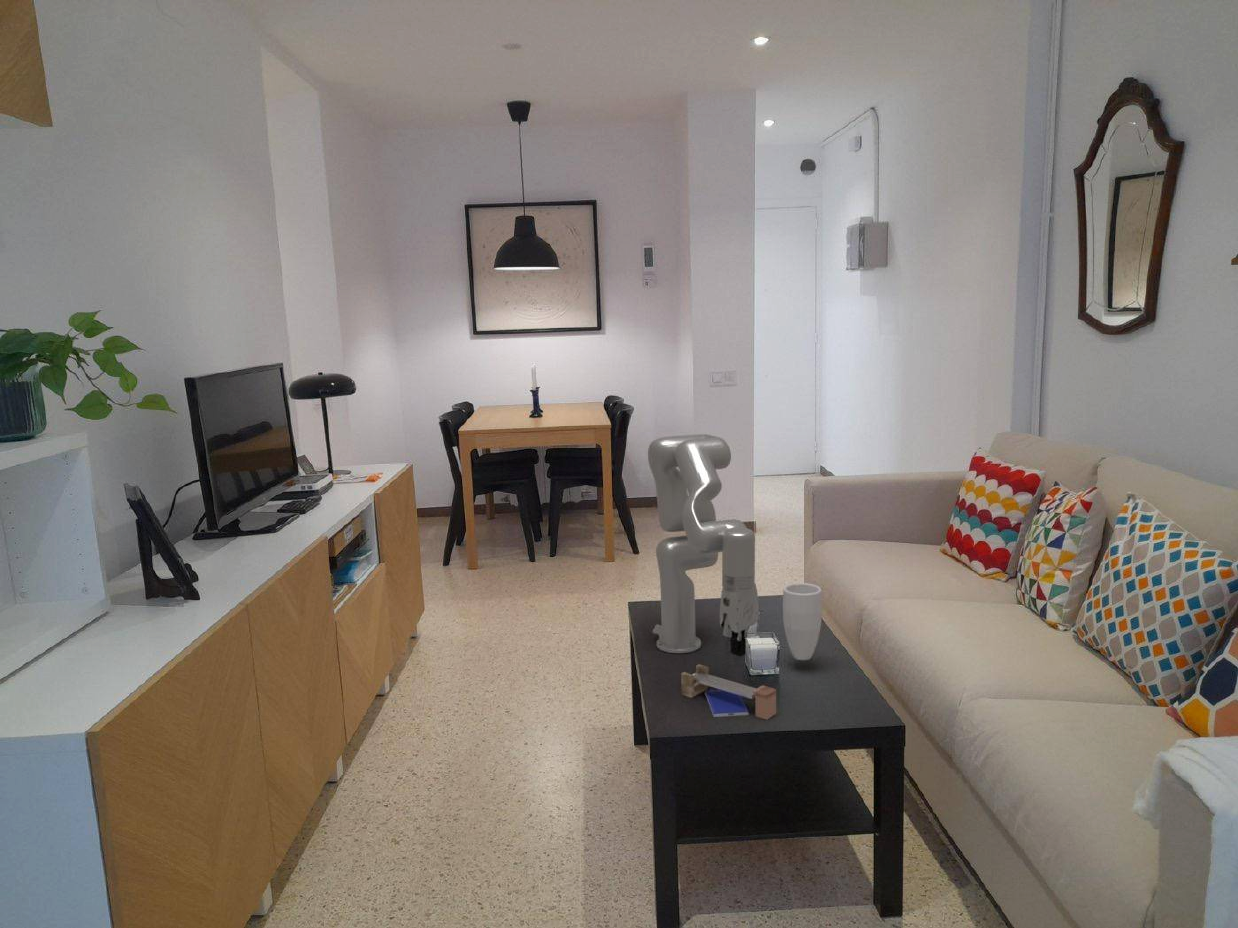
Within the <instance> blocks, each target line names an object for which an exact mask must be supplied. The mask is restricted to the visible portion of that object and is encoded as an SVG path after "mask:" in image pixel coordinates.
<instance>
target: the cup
mask: <svg viewBox="0 0 1238 928" xmlns="http://www.w3.org/2000/svg"><path fill="white" fill-rule="evenodd" d="M782 591H783V592H782V617H783V618H782V619H783V627H784V628H783V629H784V632H785V638H786V642H787V645H788V647H789V650H790V652H791V655H792V657H793V658H794V659H796V660H799V661H808V660H810V659H811V658H812V657H813V655H814V652H815V650H816V647H817V645H818V641H819V637H820V632H821V628H822V612H823V605H822V603H823V602H822V601H823V600H822V599H823V598H822V588H821V587H820V586H818V585H816V584H813V583H808V582H794V583H790V584H785V586H783V588H782Z"/></svg>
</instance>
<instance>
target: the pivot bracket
mask: <svg viewBox="0 0 1238 928" xmlns="http://www.w3.org/2000/svg"><path fill="white" fill-rule="evenodd" d="M709 670H710V668H709V666H706V665H703V664H700V663H699V664H697V665H696V666H695V673H696V672H698V671H701V672H702V673H705V674H709V675H710V671H709ZM692 674H693V673H692ZM692 674H691V673H689V672H686V671H684V672H682V673H680V679H681V681H680V682H681V685H680V686H681V695H682V696H685V697H688V698H691V699H692V698H694V697H695V696H697V695H699V694H701V693H703V692H705V691H706V690H709V688H710V686H707V685H704V684H701V683H698V682H694V675H692Z"/></svg>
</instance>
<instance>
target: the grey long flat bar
mask: <svg viewBox="0 0 1238 928" xmlns="http://www.w3.org/2000/svg"><path fill="white" fill-rule="evenodd" d="M692 675H694V683H696V682H698V683H701V684H704V685H707V686H709V687H712V688H715V689H721V690H724V691H727V692H731V693H734V694H737V695H740V696H741V697H744V698H747V699H751V700H753V699H754V698H755V695H753V691H754V690H756V689H757V688H756V687H752V686H749V685H746V684H742V683H739V682H736V681H732V680H729V679H725V678H722V677H718V676H715V675H711V674H710V673H709V674H705V673H702V672H701V671H698V672H696V671H695V672H694V673H692Z"/></svg>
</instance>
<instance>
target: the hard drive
mask: <svg viewBox="0 0 1238 928" xmlns="http://www.w3.org/2000/svg"><path fill="white" fill-rule="evenodd" d="M704 695H705V697H706V699H707V703H708V706H709V708H710V711H711V713H712V716H713V717H714V718H718V717H719V718H720V717H722V718H723V717H732V716H733V717H735V716H749V715H750V714H749V710H748V707H747V706H746V704H745V701H744V700H743V696H740V695H737V694H734V693H731V692H727V691H724V690H721V689H717V688H715V689H706V690H705V691H704Z"/></svg>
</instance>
